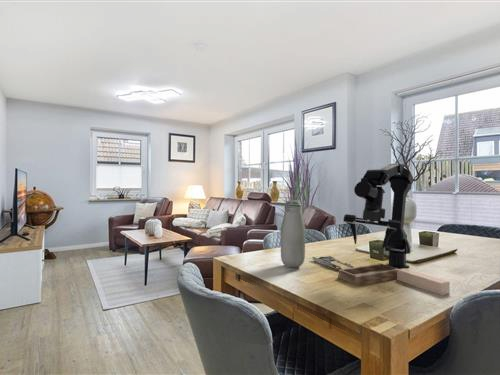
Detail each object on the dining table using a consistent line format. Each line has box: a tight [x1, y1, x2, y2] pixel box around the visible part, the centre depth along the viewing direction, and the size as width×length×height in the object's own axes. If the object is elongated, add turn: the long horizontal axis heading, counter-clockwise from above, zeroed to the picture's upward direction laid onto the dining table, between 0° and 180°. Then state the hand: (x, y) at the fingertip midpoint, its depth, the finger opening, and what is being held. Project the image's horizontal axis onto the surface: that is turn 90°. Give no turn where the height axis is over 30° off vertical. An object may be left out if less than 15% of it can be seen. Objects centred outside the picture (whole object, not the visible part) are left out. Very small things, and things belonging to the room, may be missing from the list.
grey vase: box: [280, 199, 306, 269], centre depth 123 cm, size 10×10×28 cm
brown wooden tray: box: [337, 262, 398, 287], centre depth 109 cm, size 21×10×3 cm, turn 114°
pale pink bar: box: [396, 268, 451, 296], centre depth 100 cm, size 16×4×4 cm, turn 24°
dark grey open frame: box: [312, 255, 354, 271], centre depth 125 cm, size 22×3×10 cm
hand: (369, 246), depth 105 cm, fingers open, 9 cm apart
